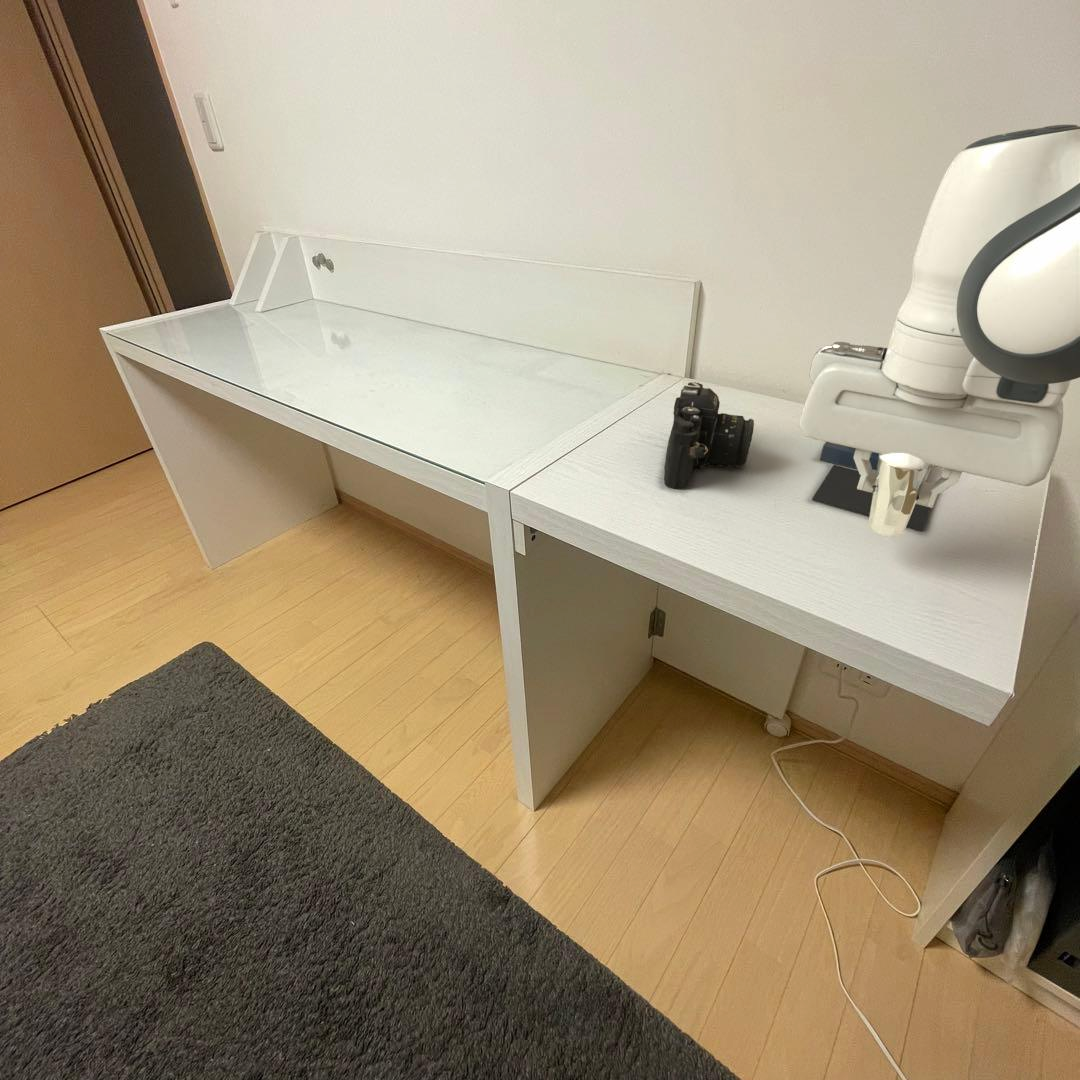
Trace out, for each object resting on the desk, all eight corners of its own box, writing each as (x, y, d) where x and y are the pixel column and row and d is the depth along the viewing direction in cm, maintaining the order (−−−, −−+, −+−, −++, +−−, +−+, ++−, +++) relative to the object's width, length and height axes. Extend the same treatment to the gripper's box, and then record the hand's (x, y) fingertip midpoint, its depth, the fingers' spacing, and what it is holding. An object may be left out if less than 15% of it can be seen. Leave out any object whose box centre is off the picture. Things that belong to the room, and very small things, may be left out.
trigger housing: (930, 453, 83) (941, 426, 81) (918, 484, 77) (929, 456, 74) (838, 432, 89) (845, 407, 87) (819, 460, 82) (826, 433, 80)
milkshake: (898, 512, 64) (924, 422, 58) (919, 540, 59) (949, 446, 54) (852, 512, 64) (873, 424, 59) (869, 540, 60) (894, 447, 54)
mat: (934, 492, 75) (936, 490, 75) (921, 531, 68) (923, 528, 68) (832, 467, 81) (833, 464, 80) (811, 500, 74) (812, 497, 74)
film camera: (768, 495, 75) (786, 420, 70) (668, 497, 75) (677, 422, 69) (729, 431, 90) (741, 365, 84) (646, 433, 90) (652, 367, 84)
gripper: (807, 348, 55) (778, 481, 63) (1093, 391, 45) (1015, 544, 53) (826, 329, 59) (797, 457, 67) (1092, 365, 49) (1020, 511, 57)
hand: (895, 496), depth 60 cm, fingers closed on milkshake, 4 cm apart
